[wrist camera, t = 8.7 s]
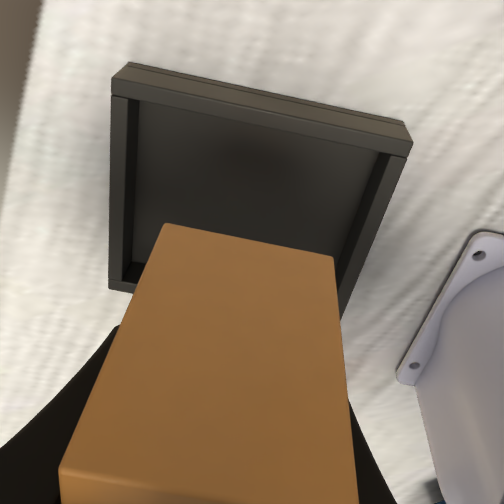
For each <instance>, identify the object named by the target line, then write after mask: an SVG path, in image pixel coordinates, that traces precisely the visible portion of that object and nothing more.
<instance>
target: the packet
mask: <svg viewBox="0 0 504 504" xmlns="http://www.w3.org/2000/svg"><path fill="white" fill-rule="evenodd" d="M58 474H59V485H60V496H61V504H359V499H358V489H357V479H356V470H355V460H354V451H353V441H352V431H351V422H350V412H349V403H348V393H347V383H346V374H345V364H344V355H343V345H342V336H341V326H340V316H339V307H338V297H337V288H336V278H335V268H334V259H333V257H331V256H327V255H322V254H318V253H313V252H308V251H303V250H298V249H293V248H288V247H283V246H278V245H273V244H268V243H263V242H258V241H253V240H249V239H244V238H239V237H234V236H229V235H224V234H219V233H214V232H209V231H204V230H199V229H194V228H189V227H185V226H180V225H175V224H170V223H165V224H164V225H163V227H162V229H161V231H160V234H159V236H158V238H157V241H156V243H155V245H154V248H153V250H152V252H151V255H150V257H149V259H148V262H147V264H146V266H145V269H144V271H143V273H142V275H141V278H140V280H139V282H138V285H137V287H136V289H135V292H134V294H133V296H132V299H131V301H130V303H129V306H128V308H127V310H126V313H125V315H124V317H123V319H122V322H121V324H120V326H119V329H118V331H117V333H116V336H115V338H114V340H113V343H112V345H111V347H110V350H109V352H108V354H107V357H106V359H105V361H104V363H103V366H102V368H101V370H100V373H99V375H98V377H97V380H96V382H95V384H94V387H93V389H92V391H91V394H90V396H89V398H88V401H87V403H86V405H85V408H84V410H83V412H82V414H81V417H80V419H79V421H78V424H77V426H76V428H75V431H74V433H73V435H72V438H71V440H70V442H69V445H68V447H67V449H66V452H65V454H64V456H63V458H62V461H61V463H60V465H59V468H58Z"/></svg>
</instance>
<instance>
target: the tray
mask: <svg viewBox="0 0 504 504" xmlns="http://www.w3.org/2000/svg"><path fill="white" fill-rule="evenodd" d="M111 94H112V95H111V127H110V195H109V263H108V278H109V279H108V288H109V289H112V290H117V291H122V292H127V293H132V294H134V292H135V289H136V287H137V285H138V282H139V280H140V278H141V275H142V273H143V271H144V269H145V266H146V264H147V262H148V259H149V257H150V255H151V252H152V250H153V248H154V245H155V243H156V241H157V238H158V236H159V234H160V231H161V229H162V227H163V225H164V224H165V223H170V224H175V225H180V226H185V227H189V228H194V229H199V230H204V231H209V232H214V233H219V234H224V235H229V236H234V237H239V238H244V239H249V240H253V241H258V242H263V243H268V244H273V245H278V246H283V247H288V248H293V249H298V250H303V251H308V252H313V253H318V254H322V255H327V256H331V257H333V259H334V268H335V278H336V288H337V297H338V307H339V316H340V320H341V318H342V316H343V313H344V311H345V308H346V306H347V303H348V301H349V299H350V296H351V294H352V291H353V289H354V286H355V284H356V282H357V279H358V277H359V274H360V272H361V270H362V267H363V265H364V262H365V260H366V257H367V255H368V253H369V250H370V248H371V245H372V243H373V240H374V238H375V236H376V233H377V231H378V228H379V226H380V224H381V221H382V219H383V216H384V214H385V211H386V209H387V207H388V204H389V202H390V199H391V197H392V195H393V192H394V190H395V187H396V185H397V182H398V180H399V178H400V175H401V173H402V170H403V168H404V165H405V163H406V161H407V157H408V155H409V153H410V150H411V148H412V146H413V140H412V138H411V136H410V134H409V132H408V130H407V128H406V127H405V124H404V122H403V121H398V120H393V119H389V118H384V117H380V116H375V115H370V114H366V113H361V112H357V111H352V110H347V109H343V108H338V107H334V106H329V105H324V104H320V103H315V102H311V101H306V100H301V99H297V98H292V97H288V96H283V95H278V94H274V93H269V92H265V91H260V90H255V89H251V88H246V87H242V86H237V85H232V84H228V83H223V82H219V81H214V80H209V79H205V78H200V77H196V76H191V75H186V74H182V73H177V72H173V71H168V70H163V69H159V68H154V67H150V66H145V65H140V64H136V63H131V62H129V63H127V64H126V65H125V66H124V67H123V68H122V69H121V70H120V71H118V72H117V73H116V74H115V75H114V76H113V77H112V78H111Z"/></svg>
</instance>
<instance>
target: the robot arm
mask: <svg viewBox="0 0 504 504" xmlns="http://www.w3.org/2000/svg"><path fill="white" fill-rule="evenodd" d="M477 251H482V252H481V254H479V255H474V256H473V254H474V253H475V252H477ZM119 326H120V325H118V326H116V327H114V328H113V330H112V331H111V333H110V334H109V335H108V337H107V338H106V339H105V341H104V342H103V343H102V344H101V346H100V347H99V348H98V349H97V351H96V352H95V353H94V354H93V355H92V357H91V358H90V359H89V360H88V361H87V362H86V364H85V365H84V366H83V367H82V368H81V369H80V370H79V372H78V373H77V374H76V375H75V376H74V377H73V378H72V379H71V380H70V381H69V382H68V383H67V384H66V386H65V387H64V388H63V389H62V390H61V391H60V392H59V393H58V394H57V395H56V396H55V397H54V398H53V399H52V400H51V401H50V402H49V403H48V404H47V405H46V406H45V407H44V408H43V409H42V410H41V411H40V412H39V413H38V414H37V415H36V416H35V417H34V418H33V419H32V420H31V421H30V422H29V423H28V424H27V425H26V426H25V427H24V428H22V429H21V430H20V431H19V432H18V433H17V434H16V435H15V436H14V437H13V438H11V439H10V440H9V441H8V442H7V443H6V444H5V445H4V446H2V447H1V448H0V504H61V496H60V485H59V474H58V468H59V465H60V463H61V461H62V458H63V456H64V454H65V452H66V449H67V447H68V445H69V442H70V440H71V438H72V435H73V433H74V431H75V428H76V426H77V424H78V421H79V419H80V417H81V414H82V412H83V410H84V408H85V405H86V403H87V401H88V398H89V396H90V394H91V391H92V389H93V387H94V384H95V382H96V380H97V377H98V375H99V373H100V370H101V368H102V366H103V363H104V361H105V359H106V357H107V354H108V352H109V350H110V347H111V345H112V343H113V340H114V338H115V336H116V333H117V331H118V329H119ZM413 362H416V363H413ZM396 376H397V380H398V381H399V382H400V383H402V384H406V385H411V386H415V389H416V393H417V398H418V402H419V406H420V410H421V414H422V418H423V422H424V426H425V430H426V434H427V438H428V442H429V447H430V451H431V455H432V459H433V463H434V467H435V471H436V475H437V479H438V483H439V487H440V490H441V493H442V495H443V498H444V500H445V502H446V504H504V235H500V234H496V233H491V232H480V233H477V234H475V235H474V236H473V237H472V238H471V239H470V241H469V243H468V245H467V246H466V248H465V250H464V252H463V254H462V255H461V257H460V259H459V261H458V263H457V264H456V266H455V268H454V270H453V271H452V273H451V275H450V277H449V279H448V280H447V282H446V284H445V286H444V288H443V289H442V291H441V293H440V295H439V297H438V298H437V300H436V302H435V304H434V306H433V307H432V309H431V311H430V313H429V314H428V316H427V318H426V320H425V322H424V323H423V325H422V327H421V329H420V331H419V332H418V334H417V336H416V338H415V340H414V341H413V343H412V345H411V347H410V349H409V350H408V352H407V354H406V356H405V357H404V359H403V361H402V363H401V365H400V366H399V368H398V370H397V372H396ZM348 403H349V412H350V422H351V431H352V441H353V451H354V460H355V470H356V479H357V489H358V499H359V504H397V503H396V501H395V499H394V497H393V495H392V493H391V491H390V490H389V488H388V486H387V484H386V482H385V480H384V478H383V476H382V474H381V472H380V470H379V468H378V466H377V464H376V462H375V460H374V457H373V455H372V453H371V451H370V449H369V446H368V444H367V442H366V440H365V438H364V436H363V433H362V431H361V429H360V426H359V424H358V422H357V419H356V417H355V414H354V412H353V409H352V407H351V404H350V402H349V399H348Z"/></svg>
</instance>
